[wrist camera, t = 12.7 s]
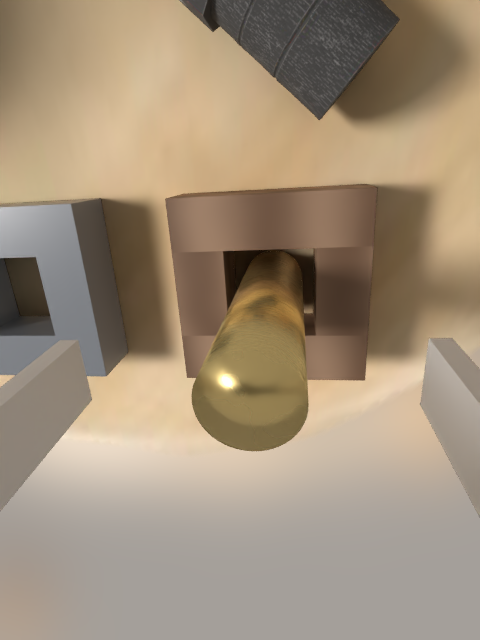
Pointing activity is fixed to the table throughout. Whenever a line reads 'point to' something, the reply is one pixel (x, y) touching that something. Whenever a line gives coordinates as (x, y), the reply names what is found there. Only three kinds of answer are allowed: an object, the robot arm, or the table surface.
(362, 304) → the dock block
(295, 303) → the brass pin
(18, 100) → the table surface
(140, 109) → the table surface
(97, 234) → the mount block
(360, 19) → the laser sight
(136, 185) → the table surface
